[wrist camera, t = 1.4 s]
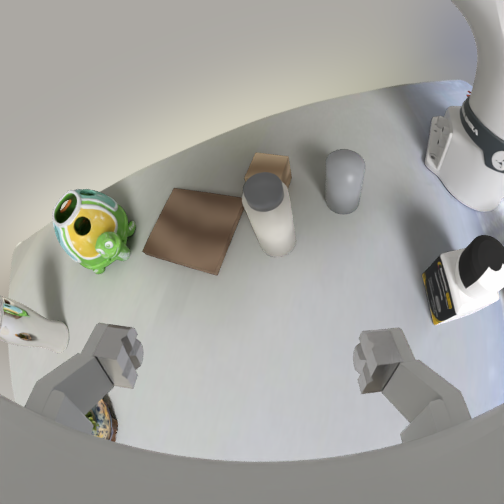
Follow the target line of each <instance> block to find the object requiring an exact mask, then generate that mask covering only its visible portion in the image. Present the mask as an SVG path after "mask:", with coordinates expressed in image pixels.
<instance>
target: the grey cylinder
mask: <svg viewBox="0 0 504 504" xmlns="http://www.w3.org/2000/svg"><path fill="white" fill-rule="evenodd" d="M364 173H365V161H364V159H363V158H362V157H361V156H360V155H359V154H358V153H356V152H354V151H351V150H347V149H340V150H336V151H333V152H332V153H330V154H329V155H328V157H327V159H326V204H327V206H328V207H329V208H330V209H331V210H332V211H333V212H335V213H338V214H349V213H352V212H353V211H355V210H356V209H357V207H358V205H359V200H360V195H361V190H362V184H363V179H364Z"/></svg>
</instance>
